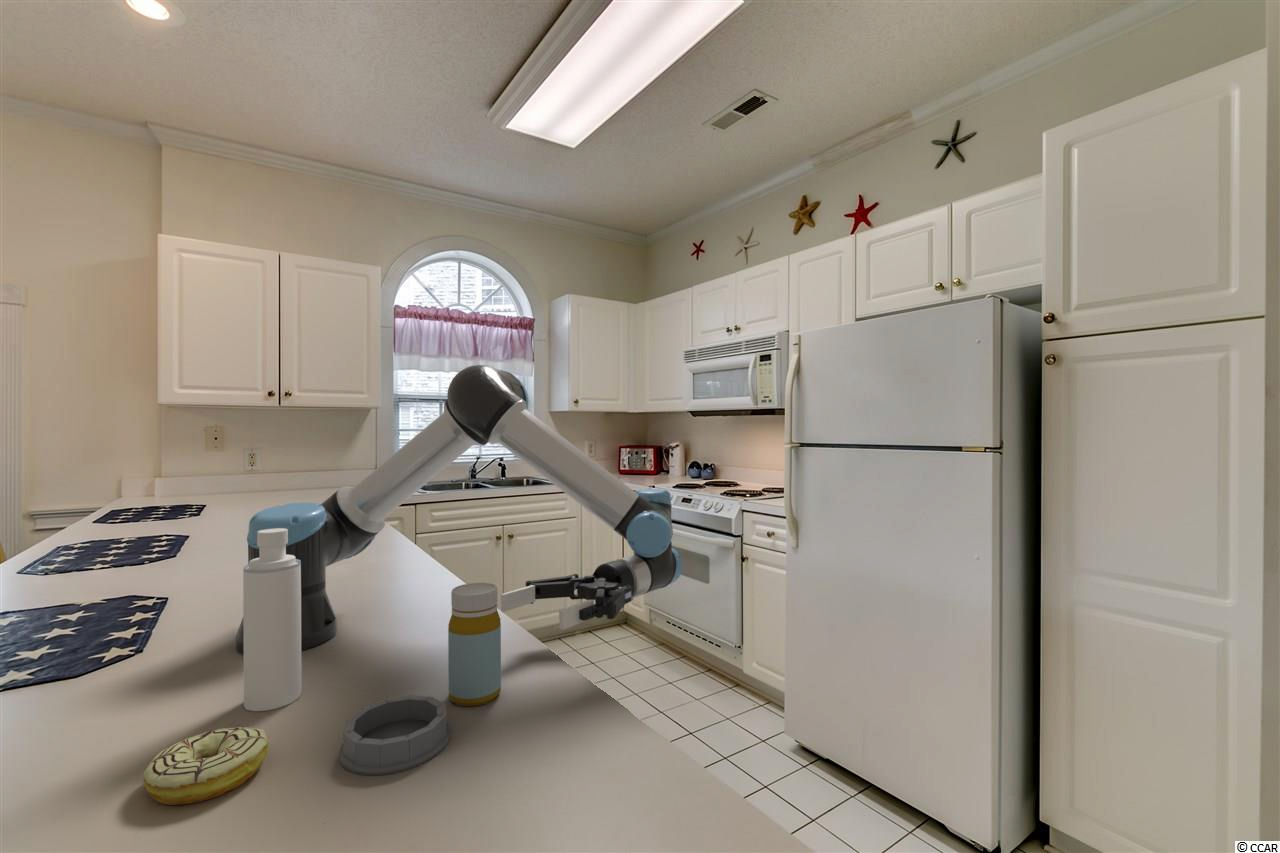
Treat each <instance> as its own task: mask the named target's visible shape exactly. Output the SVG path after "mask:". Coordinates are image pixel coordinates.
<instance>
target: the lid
mask: <svg viewBox="0 0 1280 853" xmlns="http://www.w3.org/2000/svg"><path fill="white" fill-rule="evenodd" d="M446 709H447V708H446V703H444V702H443V701H441V700H439V699H437V698H435V697H433V696H422V695H406V696H404V695H403V696H398V697H392V698H387V699H383V700H381V701H378V702H375V703H374V704H371V705H368V706H366V707H363V708H361V709H360V710H358V711H357V712H356V713H355V714H353V715H352V716H351V717H350V718H348V719H347V720H346V721H345V724H344V729H343V732H342V739H343V740H342V744H341V746H340V749H339V763H340V764H341V766H342V767H343V768H344V769H345V770H347V771H349V772H350V773H353V774H357V775H362V776H382V775H383V776H384V775H391V774H392V775H393V774H396V773H400V772H404V771H407V770H410V769H413V768H416V767H418V766H421V765H423V764H425V763H427V762H428V761H430V760H431V759H434V758H435V757H436V756H438V755H439V754H440V753H441V752H442V751H443V750H444V749H445V748H446V747H447V745H448V744H449V742H450V738H451V729H450V728H451V727H450V725H449V723H448V722H447V710H446Z"/></svg>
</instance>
